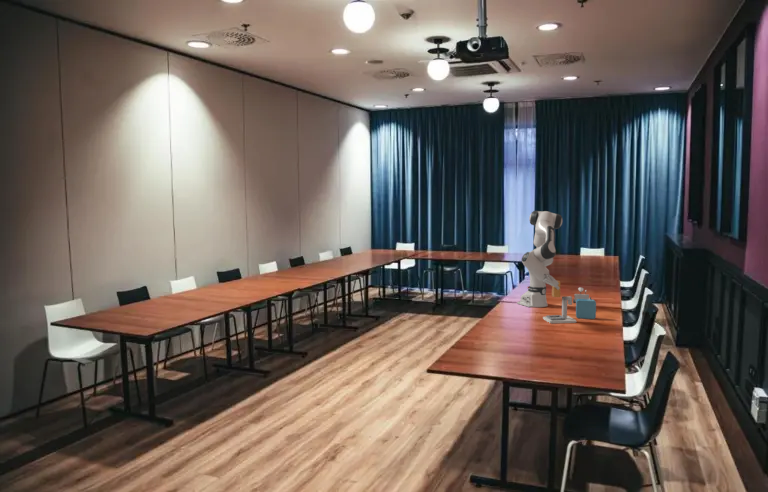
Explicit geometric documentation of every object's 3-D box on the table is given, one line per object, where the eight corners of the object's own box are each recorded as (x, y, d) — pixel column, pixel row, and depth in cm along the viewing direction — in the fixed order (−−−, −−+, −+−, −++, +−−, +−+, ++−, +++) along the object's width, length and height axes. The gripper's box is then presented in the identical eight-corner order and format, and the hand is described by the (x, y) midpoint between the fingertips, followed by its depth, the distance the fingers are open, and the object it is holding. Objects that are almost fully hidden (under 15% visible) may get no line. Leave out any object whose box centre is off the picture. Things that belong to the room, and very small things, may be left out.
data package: (595, 317, 363) (595, 299, 362) (595, 319, 359) (596, 300, 358) (575, 316, 367) (576, 298, 366) (576, 318, 363) (576, 300, 361)
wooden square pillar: (554, 297, 352) (554, 281, 351) (551, 296, 356) (551, 280, 355) (560, 297, 353) (560, 281, 352) (557, 295, 357) (558, 280, 356)
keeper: (549, 323, 349) (550, 299, 348) (542, 318, 362) (543, 295, 361) (576, 322, 350) (576, 298, 349) (568, 318, 363) (568, 294, 362)
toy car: (575, 286, 428) (591, 287, 423) (575, 299, 429) (591, 300, 424) (573, 290, 411) (589, 291, 407) (573, 303, 412) (589, 304, 407)
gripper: (551, 272, 342) (566, 287, 344) (540, 267, 363) (554, 282, 364) (544, 279, 342) (559, 294, 344) (533, 274, 363) (548, 289, 364)
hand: (557, 288), depth 354 cm, fingers closed on wooden square pillar, 4 cm apart
